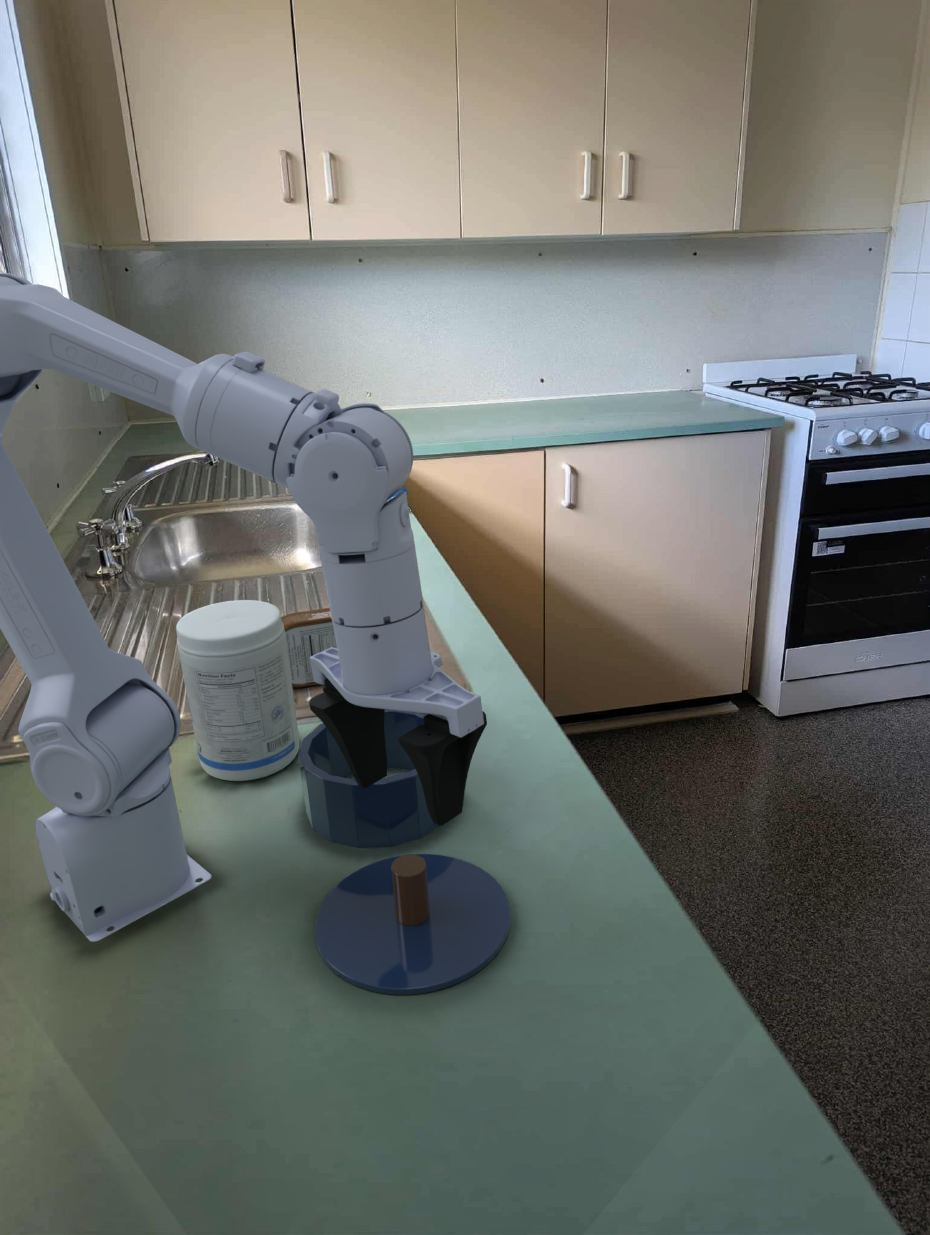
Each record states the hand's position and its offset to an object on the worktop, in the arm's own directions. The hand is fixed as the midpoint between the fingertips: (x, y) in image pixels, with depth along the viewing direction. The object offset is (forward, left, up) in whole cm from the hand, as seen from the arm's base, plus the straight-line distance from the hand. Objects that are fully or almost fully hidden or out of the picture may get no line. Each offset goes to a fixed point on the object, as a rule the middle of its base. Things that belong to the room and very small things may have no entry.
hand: (408, 798), depth 59 cm
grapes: (+75, +89, -10) cm, 117 cm away
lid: (-1, -1, -9) cm, 9 cm away
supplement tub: (+4, +28, -10) cm, 31 cm away
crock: (+7, +12, -10) cm, 17 cm away
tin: (+20, +36, -10) cm, 43 cm away
